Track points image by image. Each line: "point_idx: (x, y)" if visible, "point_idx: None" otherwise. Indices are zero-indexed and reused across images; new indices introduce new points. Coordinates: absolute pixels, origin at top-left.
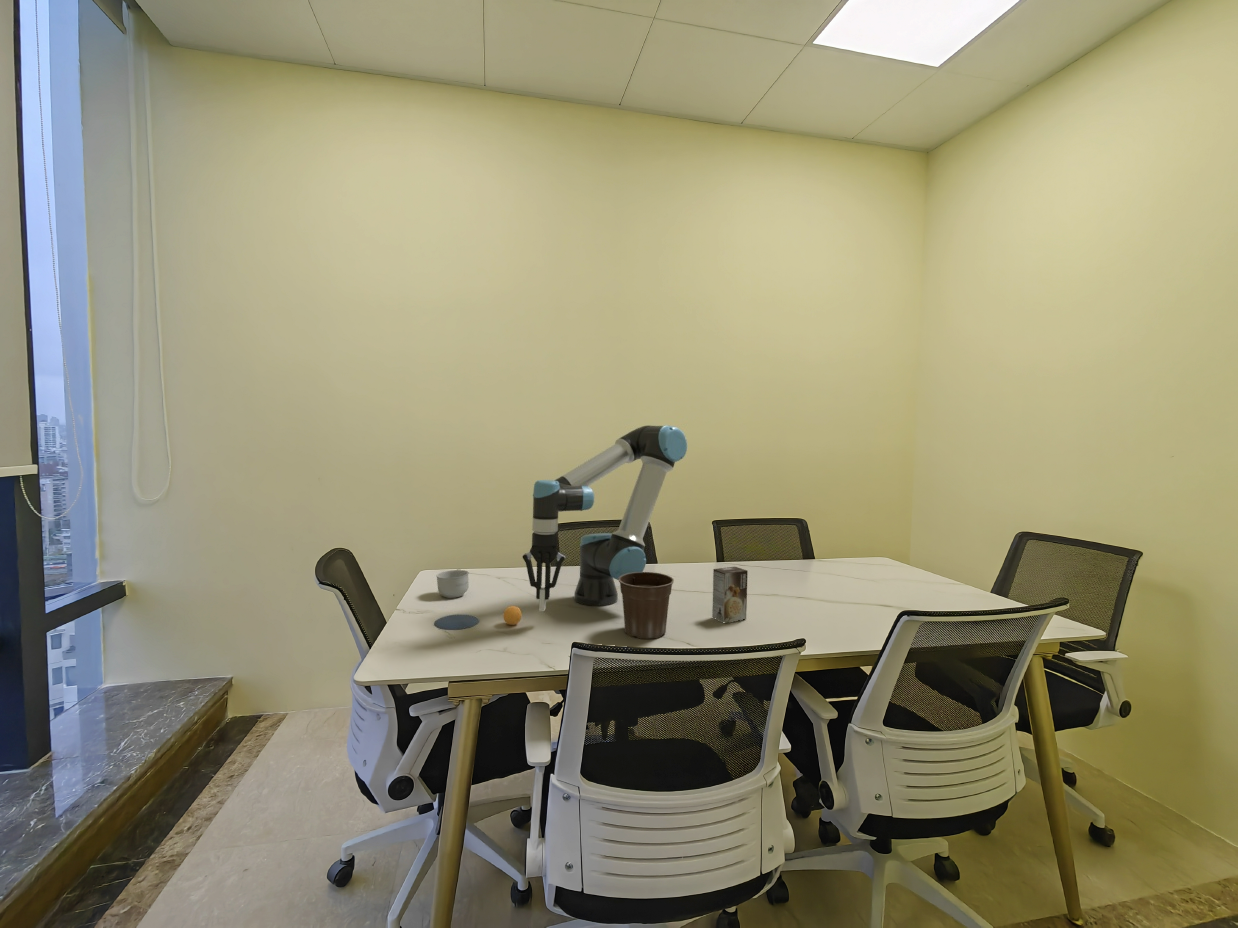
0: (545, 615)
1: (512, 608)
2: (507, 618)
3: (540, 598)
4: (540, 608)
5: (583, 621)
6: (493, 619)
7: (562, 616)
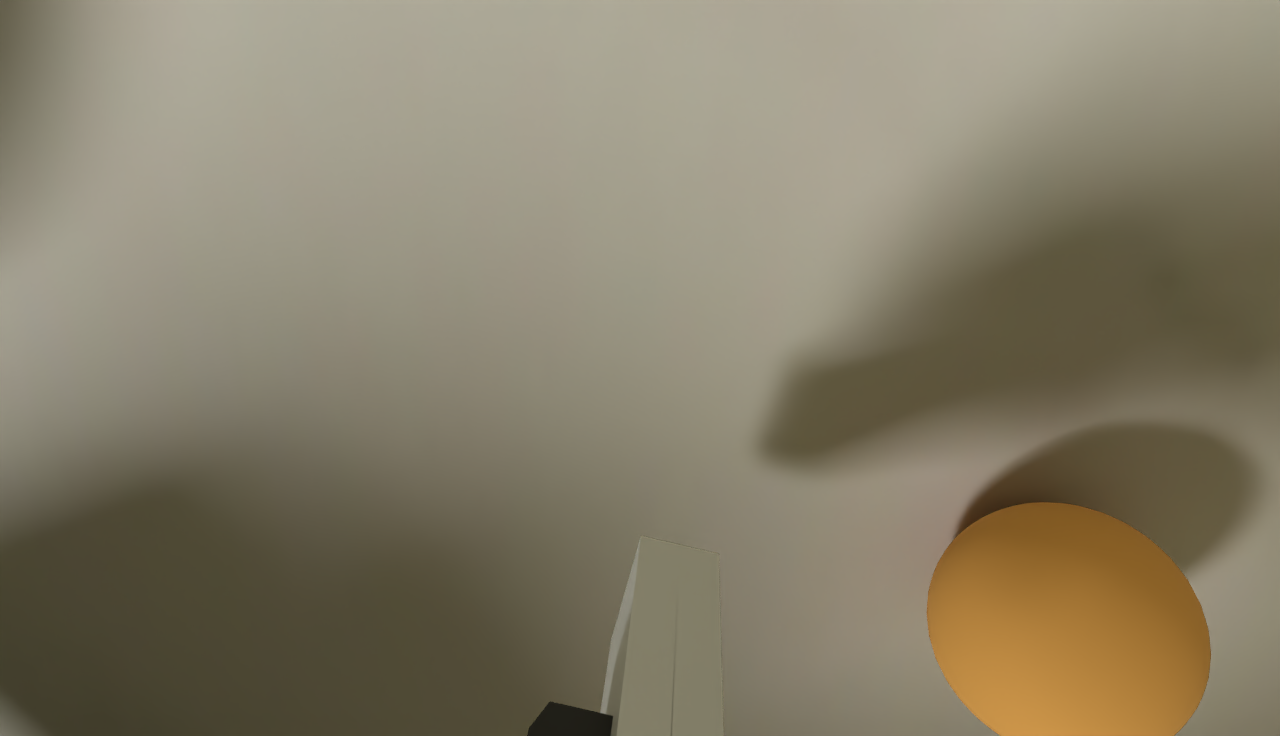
0: None
1: (1130, 678)
2: (1151, 541)
3: (704, 729)
4: (699, 575)
5: (206, 522)
6: None
7: (442, 673)
